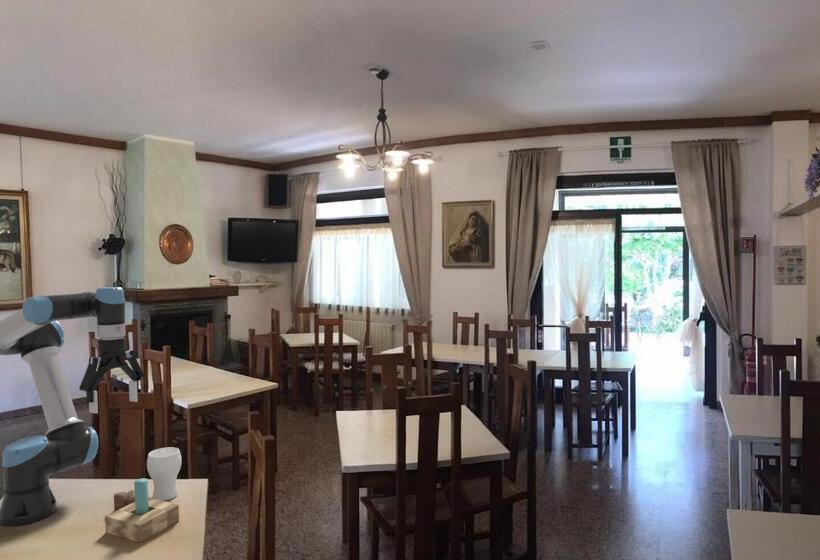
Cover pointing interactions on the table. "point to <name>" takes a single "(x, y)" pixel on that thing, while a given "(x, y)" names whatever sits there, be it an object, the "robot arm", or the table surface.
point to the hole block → (142, 520)
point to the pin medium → (130, 497)
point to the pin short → (120, 500)
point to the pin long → (141, 496)
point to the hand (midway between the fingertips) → (114, 406)
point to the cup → (164, 472)
